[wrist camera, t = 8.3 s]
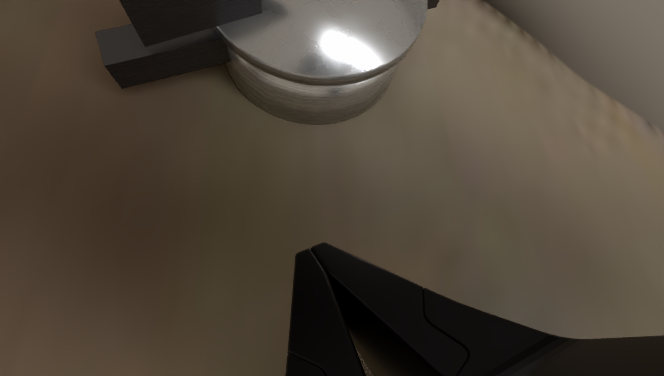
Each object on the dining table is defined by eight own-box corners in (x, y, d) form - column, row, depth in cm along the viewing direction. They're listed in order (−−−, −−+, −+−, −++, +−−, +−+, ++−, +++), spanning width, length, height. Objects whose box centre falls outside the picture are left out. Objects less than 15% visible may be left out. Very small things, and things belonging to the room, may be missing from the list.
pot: (454, 85, 28) (487, 41, 24) (159, 180, 22) (126, 147, 18) (382, -32, 32) (399, -90, 27) (112, 23, 26) (74, -38, 21)
